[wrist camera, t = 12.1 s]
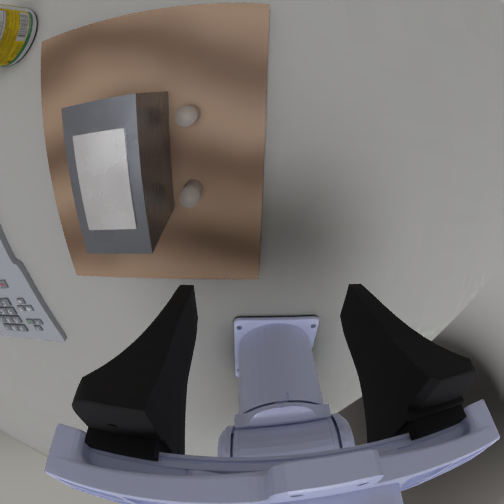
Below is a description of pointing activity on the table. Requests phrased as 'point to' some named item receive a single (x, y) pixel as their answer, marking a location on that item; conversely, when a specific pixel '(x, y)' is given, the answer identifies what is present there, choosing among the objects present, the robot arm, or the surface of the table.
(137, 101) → the block
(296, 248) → the table surface
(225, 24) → the pin tray
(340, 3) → the table surface
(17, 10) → the supplement bottle
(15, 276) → the office telephone
